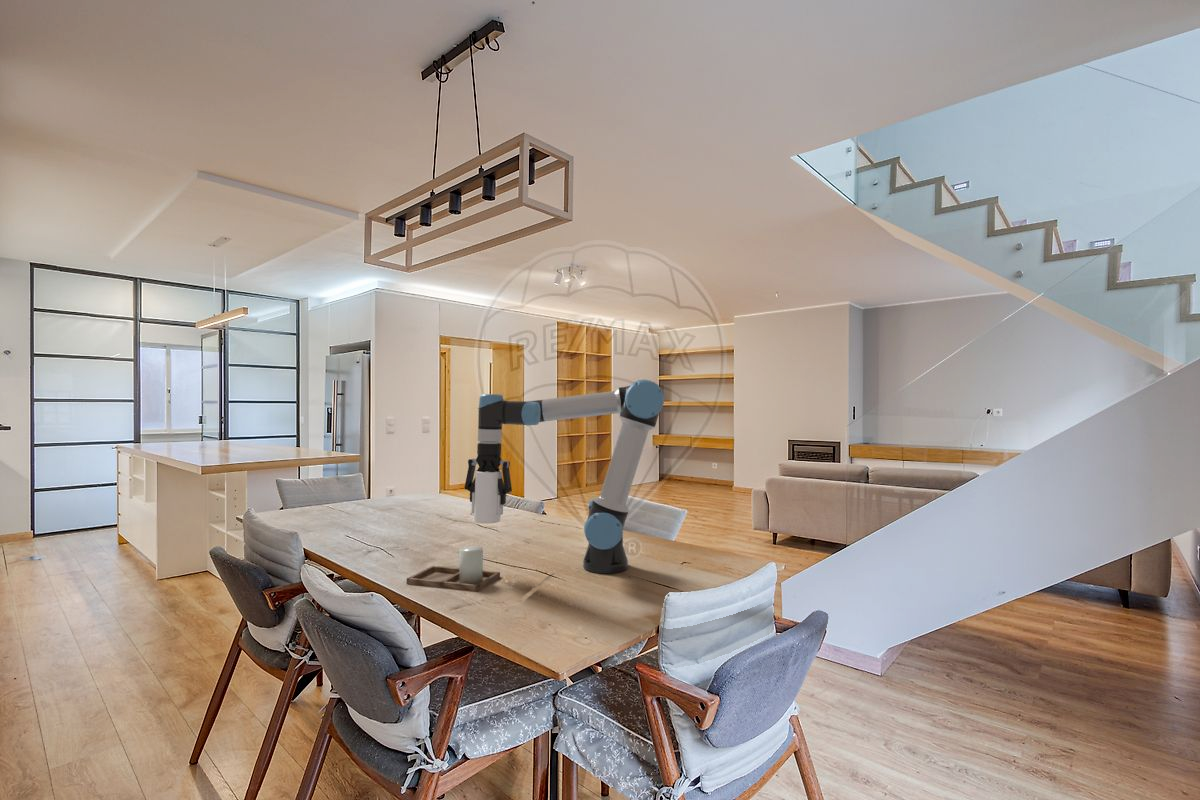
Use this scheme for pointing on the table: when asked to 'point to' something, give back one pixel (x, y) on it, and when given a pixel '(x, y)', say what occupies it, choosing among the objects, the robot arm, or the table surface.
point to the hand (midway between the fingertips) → (487, 513)
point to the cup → (486, 497)
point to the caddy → (449, 578)
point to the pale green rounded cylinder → (471, 565)
